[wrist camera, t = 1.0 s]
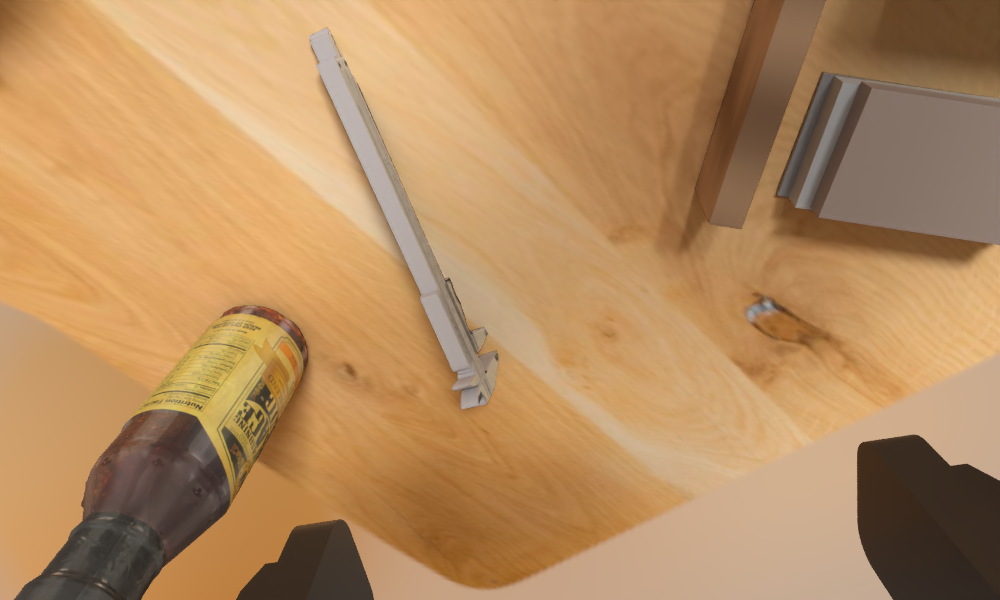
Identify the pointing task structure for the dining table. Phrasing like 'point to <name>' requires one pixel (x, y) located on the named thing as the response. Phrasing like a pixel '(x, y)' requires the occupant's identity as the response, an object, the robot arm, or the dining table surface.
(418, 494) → the dining table surface
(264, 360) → the sauce bottle
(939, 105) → the top offcut
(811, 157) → the middle offcut
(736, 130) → the walnut frame
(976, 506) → the robot arm
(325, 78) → the caliper
